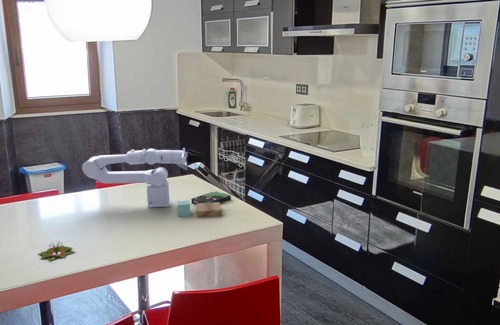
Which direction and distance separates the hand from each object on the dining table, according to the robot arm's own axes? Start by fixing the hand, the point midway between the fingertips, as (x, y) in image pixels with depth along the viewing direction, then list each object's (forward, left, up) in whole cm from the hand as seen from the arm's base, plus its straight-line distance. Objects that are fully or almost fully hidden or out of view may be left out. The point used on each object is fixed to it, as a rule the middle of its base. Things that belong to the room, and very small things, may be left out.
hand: (204, 157), depth 196 cm
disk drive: (+2, +2, -21) cm, 21 cm away
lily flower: (-52, -43, -21) cm, 71 cm away
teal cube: (-10, -12, -21) cm, 26 cm away
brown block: (0, -12, -21) cm, 24 cm away
